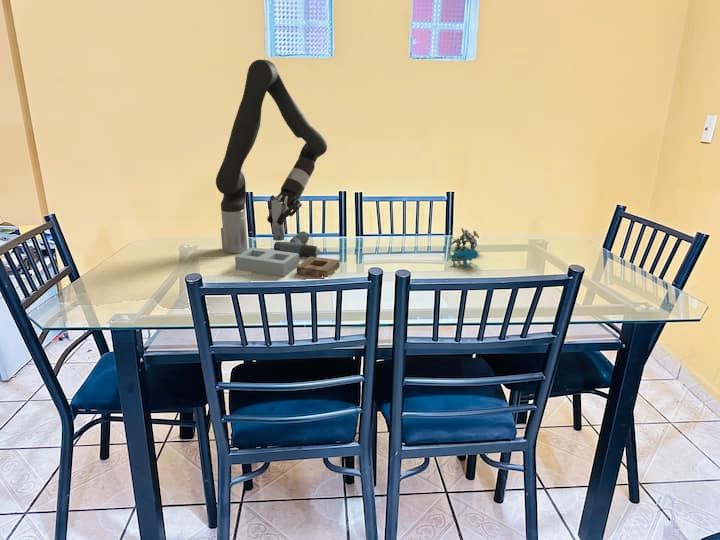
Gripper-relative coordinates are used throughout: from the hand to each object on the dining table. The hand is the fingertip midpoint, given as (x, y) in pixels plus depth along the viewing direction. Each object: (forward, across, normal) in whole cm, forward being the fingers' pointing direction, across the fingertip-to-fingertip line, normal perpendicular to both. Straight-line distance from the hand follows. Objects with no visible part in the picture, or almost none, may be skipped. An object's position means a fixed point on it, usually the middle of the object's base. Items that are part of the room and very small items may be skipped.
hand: (274, 222), depth 174 cm
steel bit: (+3, 0, +6) cm, 7 cm away
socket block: (+6, +12, +20) cm, 24 cm away
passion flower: (-32, +46, +60) cm, 82 cm away
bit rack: (+13, -5, +13) cm, 19 cm away
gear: (-21, +53, +48) cm, 74 cm away
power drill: (-4, -8, +31) cm, 33 cm away
